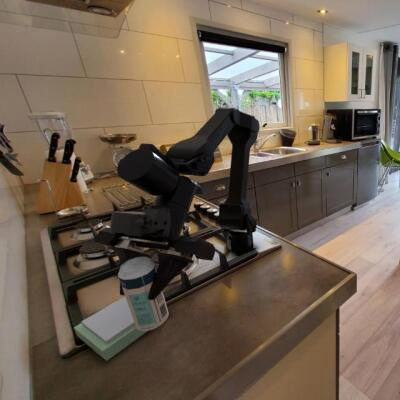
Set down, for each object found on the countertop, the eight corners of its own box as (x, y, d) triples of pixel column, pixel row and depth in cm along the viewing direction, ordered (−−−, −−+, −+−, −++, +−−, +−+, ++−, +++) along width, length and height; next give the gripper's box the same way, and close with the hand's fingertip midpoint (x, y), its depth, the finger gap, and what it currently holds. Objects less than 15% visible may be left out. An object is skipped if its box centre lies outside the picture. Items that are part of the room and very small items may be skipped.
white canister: (164, 306, 47) (148, 251, 42) (173, 320, 44) (157, 263, 39) (133, 321, 43) (113, 264, 39) (141, 338, 40) (120, 278, 36)
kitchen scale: (142, 297, 56) (138, 286, 55) (170, 314, 52) (167, 302, 51) (78, 336, 47) (72, 324, 45) (106, 361, 42) (100, 347, 41)
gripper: (86, 182, 40) (29, 285, 34) (193, 191, 37) (152, 305, 31) (140, 208, 50) (104, 290, 44) (227, 216, 47) (201, 306, 41)
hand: (136, 297), depth 40 cm, fingers closed on white canister, 5 cm apart
